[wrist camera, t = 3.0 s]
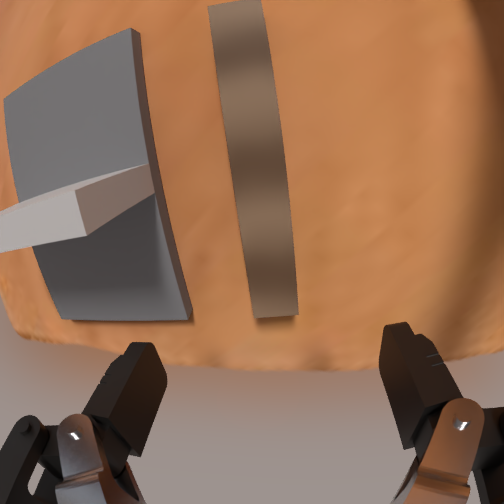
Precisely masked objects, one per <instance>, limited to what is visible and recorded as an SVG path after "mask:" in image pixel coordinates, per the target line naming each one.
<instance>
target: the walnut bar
mask: <svg viewBox="0 0 504 504" xmlns="http://www.w3.org/2000/svg"><path fill="white" fill-rule="evenodd" d="M208 13H209V20H210V28H211V35H212V42H213V49H214V57H215V64H216V71H217V78H218V85H219V92H220V99H221V106H222V113H223V119H224V126H225V133H226V140H227V147H228V153H229V160H230V167H231V173H232V180H233V187H234V193H235V200H236V206H237V213H238V219H239V226H240V232H241V239H242V245H243V252H244V258H245V264H246V271H247V277H248V283H249V290H250V296H251V302H252V308H253V315H254V318H265V317H278V316H291V315H299V312H298V296H297V282H296V268H295V255H294V243H293V232H292V221H291V210H290V200H289V191H288V181H287V172H286V163H285V155H284V146H283V138H282V130H281V123H280V115H279V108H278V101H277V94H276V87H275V80H274V74H273V67H272V61H271V54H270V48H269V42H268V37H267V31H266V25H265V19H264V14H263V9H262V3H261V0H240V1H234V2H228V3H222V4H217V5H212V6H208Z"/></svg>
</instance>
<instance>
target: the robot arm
mask: <svg viewBox="0 0 504 504" xmlns="http://www.w3.org/2000/svg"><path fill="white" fill-rule="evenodd" d="M443 362H444V361H443V359H442V358H441V356H440V355H439V354H438V351H437V349H436V347H435V346H434V344H433V342H432V341H430V340H429V339H428V338H426V337H425V336H424V335H422V334H417V335H414V333H413V331H412V329H411V328H410V326H409V324H408V323H407V322H401V323H395V324H390V325H385V327H384V330H383V336H382V343H381V350H380V356H379V370H380V375H381V378H382V381H383V383H384V386H385V390H386V393H387V396H388V399H389V402H390V405H391V408H392V411H393V415H394V418H395V421H396V424H397V428H398V431H399V434H400V438H401V441H402V445H403V449H404V450H405V449H409V448H413V447H415V450H416V454H417V455H416V457H415V459H414V461H413V463H412V465H411V467H410V469H409V471H408V473H407V475H406V477H405V478H404V480H403V482H402V484H401V486H400V488H399V489H398V491H397V493H396V495H395V496H394V498H393V500H392V501H391V503H390V504H466V502H467V500H468V497H469V494H470V486H469V485H467V481H468V477H469V475H470V472H471V471H473V473H474V477H475V481H476V485H477V489H478V493H479V497H480V502H481V504H504V407H498V408H487V409H486V408H485V409H483V408H481V407H480V405H479V404H478V403H476V402H475V401H473V400H471V399H466V398H463V396H462V395H461V392H460V390H459V389H458V387H457V385H456V383H455V381H454V379H453V377H452V376H451V374H450V372H449V370H448V368H447V367H446V365H445V364H444V363H443ZM166 387H167V374H166V371H165V369H164V367H163V365H162V362H161V360H160V358H159V355H158V353H157V351H156V348H155V346H154V345H153V344H152V343H150V342H132V343H131V344H130V345H129V346H128V348H127V350H126V351H125V353H124V355H120V356H119V357H118V358H117V359H116V360H114V361H113V362H112V363H111V364H110V366H109V368H108V369H107V371H106V373H105V376H103V377H102V379H101V381H100V384H98V386H97V388H96V390H95V391H94V393H93V395H92V396H91V398H90V400H89V401H88V403H87V405H86V407H85V408H84V410H83V412H82V413H81V414H73V415H70V416H68V417H67V418H65V419H64V420H63V421H62V422H61V423H60V425H56V426H54V425H53V426H44V425H43V424H42V423H41V422H40V421H39V419H38V418H37V417H35V416H32V415H28V416H24V417H22V418H21V419H20V420H19V421H17V422H16V424H15V425H14V427H13V429H12V431H11V432H10V434H9V436H8V438H7V439H6V441H5V443H4V445H3V447H2V449H1V450H0V504H146V502H145V500H144V498H143V496H142V494H141V492H140V489H139V487H138V485H137V483H136V480H135V478H134V475H133V473H132V470H131V468H130V466H129V464H128V462H127V458H128V455H133V456H138V457H141V455H142V452H143V449H144V446H145V443H146V441H147V438H148V435H149V433H150V430H151V427H152V424H153V422H154V419H155V416H156V414H157V411H158V408H159V405H160V403H161V400H162V398H163V395H164V392H165V390H166ZM37 462H38V463H39V464H40V465H41V466H42V467H44V468H45V469H44V472H43V474H42V477H41V479H40V481H39V483H38V486H37V488H36V491H35V493H34V495H31V494H30V493H29V491H28V482H29V480H30V477H31V475H32V473H33V471H34V469H35V466H36V464H37Z"/></svg>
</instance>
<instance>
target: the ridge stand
mask: <svg viewBox="0 0 504 504" xmlns="http://www.w3.org/2000/svg"><path fill="white" fill-rule="evenodd" d="M4 113H5V124H6V134H7V142H8V149H9V155H10V161H11V167H12V172H13V177H14V182H15V187H16V191H17V196H18V200H19V203H18V204H15V205H13V206H11V207H9V208H7V209H5V210H3V211H0V253H2V252H6V251H11V250H16V249H21V248H25V247H30V246H32V248H33V251H34V254H35V256H36V259H37V262H38V265H39V267H40V270H41V273H42V275H43V278H44V280H45V283H46V285H47V287H48V290H49V292H50V295H51V297H52V299H53V301H54V304H55V306H56V308H57V310H58V312H59V314H60V317H61V319H72V320H112V321H151V320H188V319H189V316H190V314H191V312H192V309H193V308H192V305H191V301H190V298H189V294H188V291H187V287H186V283H185V280H184V276H183V272H182V268H181V264H180V260H179V256H178V252H177V248H176V244H175V240H174V236H173V232H172V227H171V223H170V219H169V214H168V210H167V205H166V201H165V196H164V191H163V186H162V181H161V176H160V171H159V166H158V161H157V155H156V150H155V144H154V138H153V132H152V126H151V120H150V113H149V107H148V100H147V93H146V85H145V77H144V69H143V60H142V50H141V40H140V33H139V32H137V31H136V30H134V29H132V28H129V29H126V30H124V31H121V32H119V33H116V34H114V35H112V36H109V37H107V38H105V39H103V40H101V41H98V42H96V43H94V44H92V45H90V46H88V47H86V48H84V49H82V50H80V51H78V52H76V53H74V54H72V55H71V56H69V57H67V58H65V59H63V60H62V61H60V62H58V63H56V64H55V65H53V66H51V67H50V68H48V69H46V70H45V71H43V72H42V73H40V74H38V75H37V76H35V77H34V78H32V79H31V80H29V81H28V82H26V83H25V84H23V85H22V86H21V87H19V88H18V89H16V90H15V91H14V92H12V93H11V94H10V95H8V96H7V97H6V98H4Z"/></svg>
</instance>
